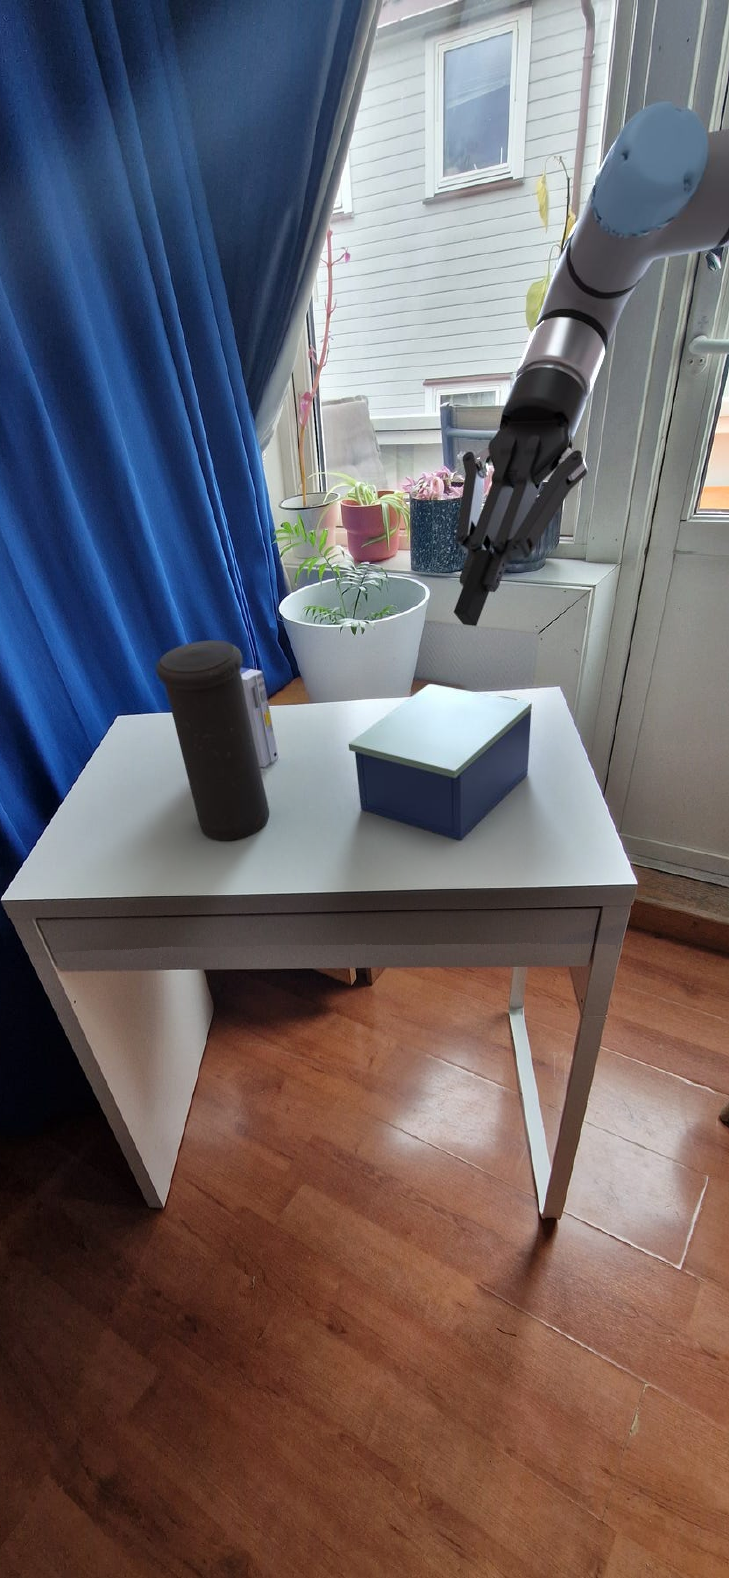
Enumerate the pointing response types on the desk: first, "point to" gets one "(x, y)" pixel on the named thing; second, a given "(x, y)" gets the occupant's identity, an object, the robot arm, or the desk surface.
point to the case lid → (441, 729)
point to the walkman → (259, 716)
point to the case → (445, 786)
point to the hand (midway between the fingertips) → (465, 619)
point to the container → (215, 737)
